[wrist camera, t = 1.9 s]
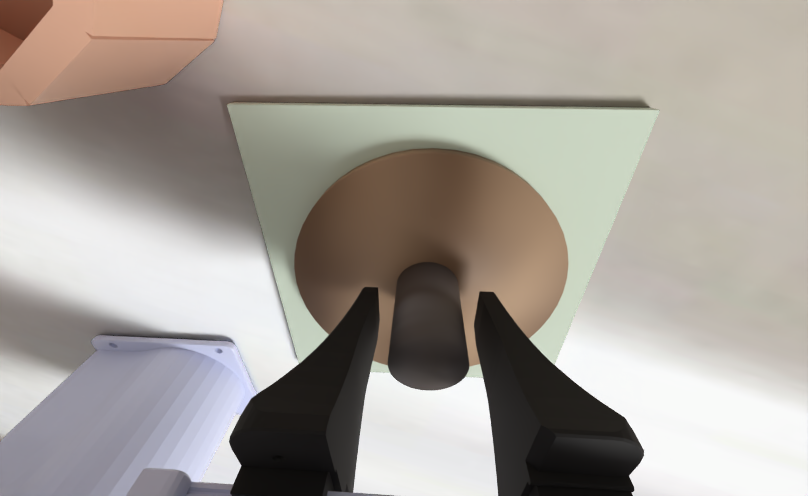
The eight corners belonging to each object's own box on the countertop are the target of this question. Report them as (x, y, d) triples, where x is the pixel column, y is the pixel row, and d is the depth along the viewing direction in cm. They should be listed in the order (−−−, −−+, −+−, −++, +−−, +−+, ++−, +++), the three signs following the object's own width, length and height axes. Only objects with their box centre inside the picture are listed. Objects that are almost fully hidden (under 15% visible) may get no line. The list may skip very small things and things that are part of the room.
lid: (319, 355, 20) (289, 444, 15) (273, 145, 13) (193, 198, 8) (529, 364, 19) (560, 460, 15) (601, 150, 12) (703, 210, 8)
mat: (302, 361, 21) (300, 368, 21) (233, 102, 12) (226, 104, 12) (545, 374, 20) (547, 380, 20) (651, 107, 12) (659, 110, 11)
